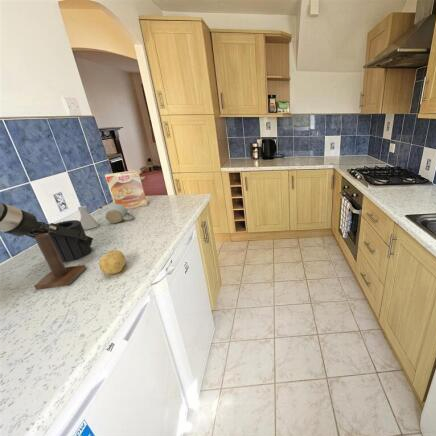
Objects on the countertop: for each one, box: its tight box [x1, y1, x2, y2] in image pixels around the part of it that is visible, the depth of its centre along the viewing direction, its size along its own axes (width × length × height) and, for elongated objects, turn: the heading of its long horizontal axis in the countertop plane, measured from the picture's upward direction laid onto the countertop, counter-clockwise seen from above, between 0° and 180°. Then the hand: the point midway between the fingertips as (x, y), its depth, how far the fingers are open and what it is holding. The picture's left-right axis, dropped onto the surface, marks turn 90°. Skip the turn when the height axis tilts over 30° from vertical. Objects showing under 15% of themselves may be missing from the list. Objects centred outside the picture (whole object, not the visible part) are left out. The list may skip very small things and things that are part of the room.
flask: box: [77, 205, 100, 231], centre depth 112 cm, size 7×7×10 cm
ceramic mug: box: [105, 203, 135, 224], centre depth 119 cm, size 11×8×8 cm
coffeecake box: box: [104, 169, 148, 210], centre depth 134 cm, size 15×7×20 cm, turn 132°
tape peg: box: [33, 233, 87, 290], centre depth 74 cm, size 9×9×16 cm
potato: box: [98, 249, 127, 275], centre depth 80 cm, size 7×11×6 cm, turn 22°
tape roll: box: [47, 219, 93, 263], centre depth 88 cm, size 10×10×12 cm
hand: (77, 241), depth 92 cm, fingers closed on tape roll, 10 cm apart
